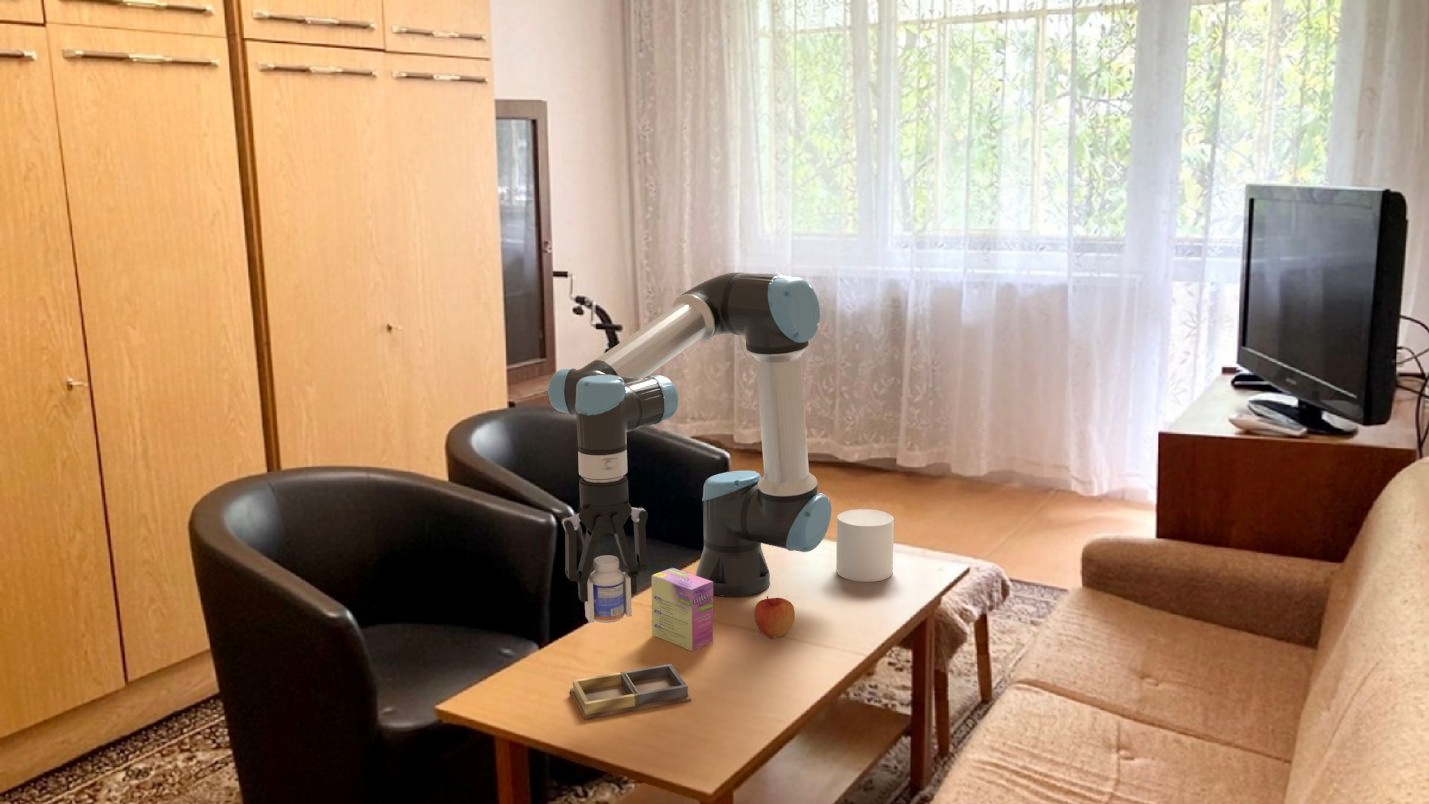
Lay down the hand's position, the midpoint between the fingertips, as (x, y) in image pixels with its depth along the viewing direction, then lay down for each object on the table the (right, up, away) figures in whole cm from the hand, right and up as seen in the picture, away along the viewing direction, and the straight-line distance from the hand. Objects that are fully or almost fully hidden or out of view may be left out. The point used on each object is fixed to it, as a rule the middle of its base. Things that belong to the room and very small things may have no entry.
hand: (608, 616), depth 181 cm
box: (+11, -9, +26) cm, 30 cm away
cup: (+48, -2, +58) cm, 75 cm away
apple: (+28, -9, +27) cm, 40 cm away
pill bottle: (0, 0, +1) cm, 1 cm away
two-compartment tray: (+3, -14, +5) cm, 15 cm away
